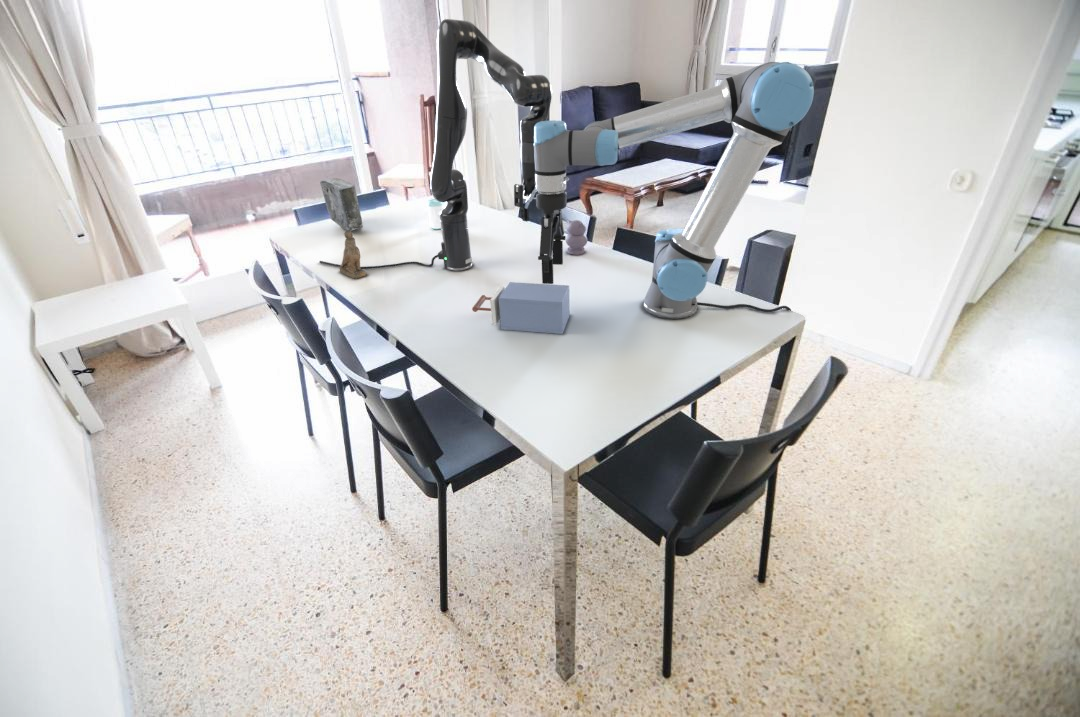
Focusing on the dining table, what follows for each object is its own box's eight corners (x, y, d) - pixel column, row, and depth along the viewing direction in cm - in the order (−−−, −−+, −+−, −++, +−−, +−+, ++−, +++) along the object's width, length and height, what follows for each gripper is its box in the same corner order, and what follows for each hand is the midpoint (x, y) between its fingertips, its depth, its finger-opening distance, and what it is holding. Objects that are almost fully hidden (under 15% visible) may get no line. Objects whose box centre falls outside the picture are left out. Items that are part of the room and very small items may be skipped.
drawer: (472, 322, 140) (469, 298, 136) (483, 307, 148) (480, 284, 144) (548, 328, 136) (547, 303, 132) (555, 312, 144) (554, 288, 140)
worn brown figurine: (368, 281, 178) (362, 235, 166) (353, 285, 175) (347, 238, 163) (352, 266, 184) (346, 221, 172) (338, 270, 181) (331, 224, 169)
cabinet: (501, 329, 138) (498, 298, 133) (511, 312, 148) (509, 282, 143) (562, 334, 135) (562, 302, 130) (569, 315, 144) (569, 285, 139)
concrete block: (368, 232, 220) (358, 186, 209) (348, 237, 216) (336, 189, 205) (349, 220, 239) (338, 176, 228) (330, 223, 234) (319, 179, 224)
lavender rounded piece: (591, 251, 189) (592, 220, 183) (578, 257, 185) (578, 225, 178) (574, 246, 195) (574, 216, 188) (561, 252, 190) (560, 221, 183)
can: (445, 229, 220) (441, 202, 214) (429, 230, 220) (425, 202, 214) (447, 224, 226) (444, 198, 220) (432, 225, 226) (428, 198, 220)
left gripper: (543, 153, 143) (545, 210, 151) (505, 161, 135) (509, 220, 143) (562, 156, 138) (562, 214, 147) (524, 164, 130) (526, 225, 138)
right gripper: (556, 204, 110) (558, 293, 121) (574, 180, 130) (574, 257, 141) (523, 204, 111) (528, 291, 122) (546, 179, 132) (548, 256, 143)
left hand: (536, 217), depth 145 cm, fingers open, 8 cm apart
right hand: (553, 273), depth 132 cm, fingers open, 13 cm apart
